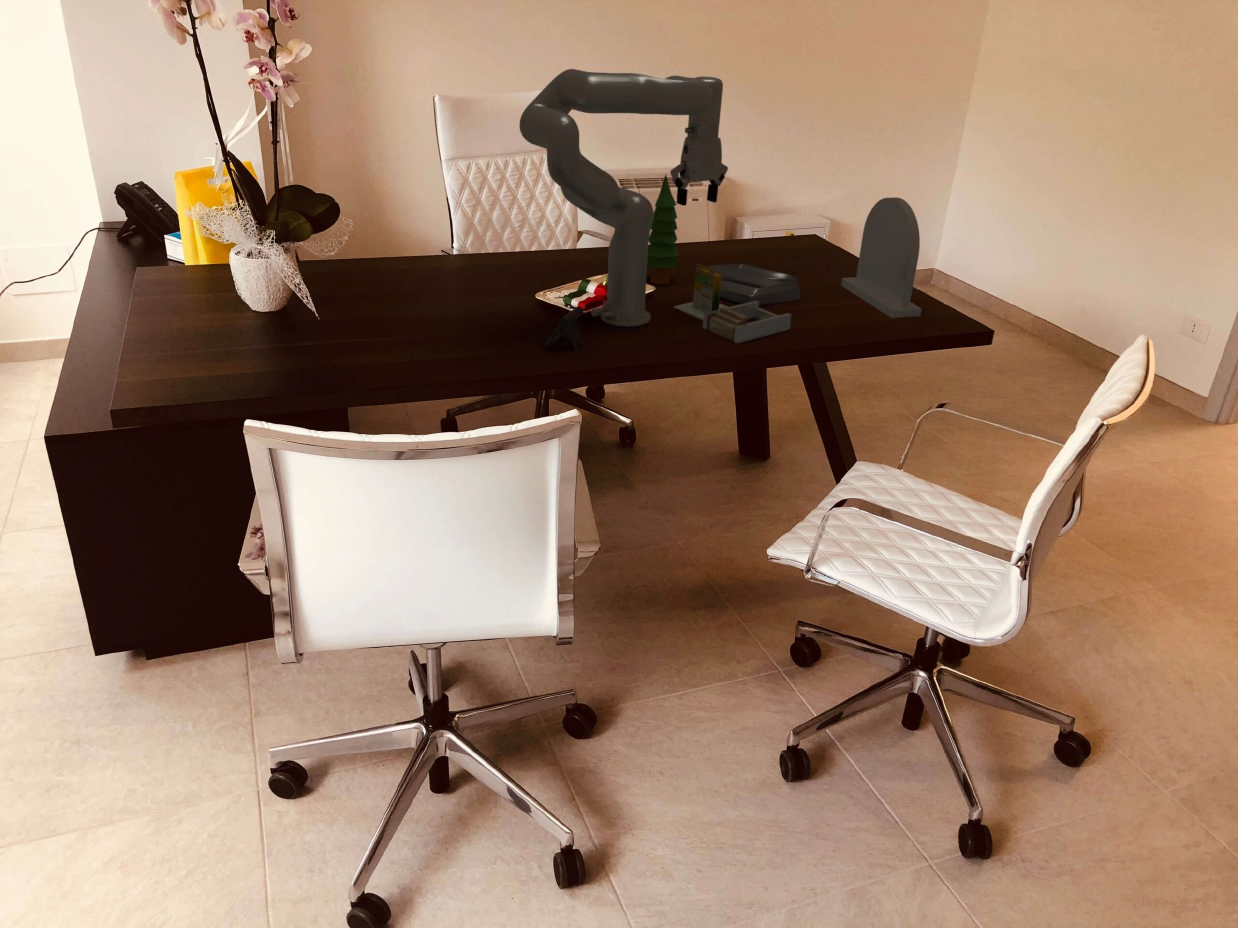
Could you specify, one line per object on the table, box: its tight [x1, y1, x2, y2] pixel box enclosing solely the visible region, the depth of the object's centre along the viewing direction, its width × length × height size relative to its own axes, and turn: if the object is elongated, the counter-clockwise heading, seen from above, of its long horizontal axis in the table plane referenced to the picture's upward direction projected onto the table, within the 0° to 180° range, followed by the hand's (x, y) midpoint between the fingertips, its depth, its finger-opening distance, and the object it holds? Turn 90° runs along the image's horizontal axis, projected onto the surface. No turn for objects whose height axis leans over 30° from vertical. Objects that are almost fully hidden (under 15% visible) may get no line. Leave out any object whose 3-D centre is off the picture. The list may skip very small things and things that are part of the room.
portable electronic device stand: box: [540, 306, 584, 351], centre depth 225 cm, size 9×8×8 cm
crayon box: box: [692, 262, 722, 312], centre depth 249 cm, size 7×3×12 cm, turn 37°
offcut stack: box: [708, 307, 748, 342], centre depth 236 cm, size 4×8×6 cm, turn 38°
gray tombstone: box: [840, 196, 922, 319], centre depth 258 cm, size 28×9×28 cm, turn 17°
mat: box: [673, 301, 728, 321], centre depth 252 cm, size 12×12×1 cm
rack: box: [702, 301, 792, 344], centre depth 240 cm, size 18×12×4 cm
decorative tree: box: [647, 174, 680, 285], centre depth 266 cm, size 10×9×30 cm
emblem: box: [702, 263, 801, 307], centre depth 267 cm, size 28×5×28 cm
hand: (696, 203), depth 242 cm, fingers open, 9 cm apart
